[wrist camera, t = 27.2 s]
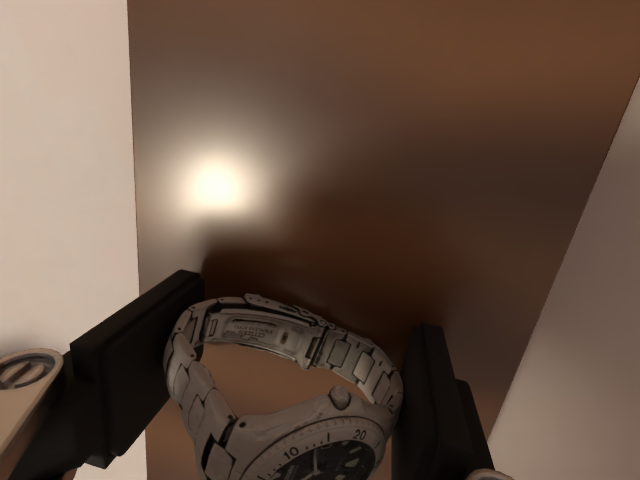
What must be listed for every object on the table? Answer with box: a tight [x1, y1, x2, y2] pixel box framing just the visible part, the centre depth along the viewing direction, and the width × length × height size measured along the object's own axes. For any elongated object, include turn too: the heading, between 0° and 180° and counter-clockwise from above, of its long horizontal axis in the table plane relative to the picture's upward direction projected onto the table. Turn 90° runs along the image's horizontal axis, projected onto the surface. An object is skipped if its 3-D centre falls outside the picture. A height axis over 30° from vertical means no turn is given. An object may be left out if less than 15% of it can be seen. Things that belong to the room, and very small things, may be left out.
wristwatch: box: [163, 293, 404, 480], centre depth 8 cm, size 4×6×5 cm, turn 71°
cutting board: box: [127, 0, 640, 480], centre depth 12 cm, size 20×12×2 cm, turn 172°
